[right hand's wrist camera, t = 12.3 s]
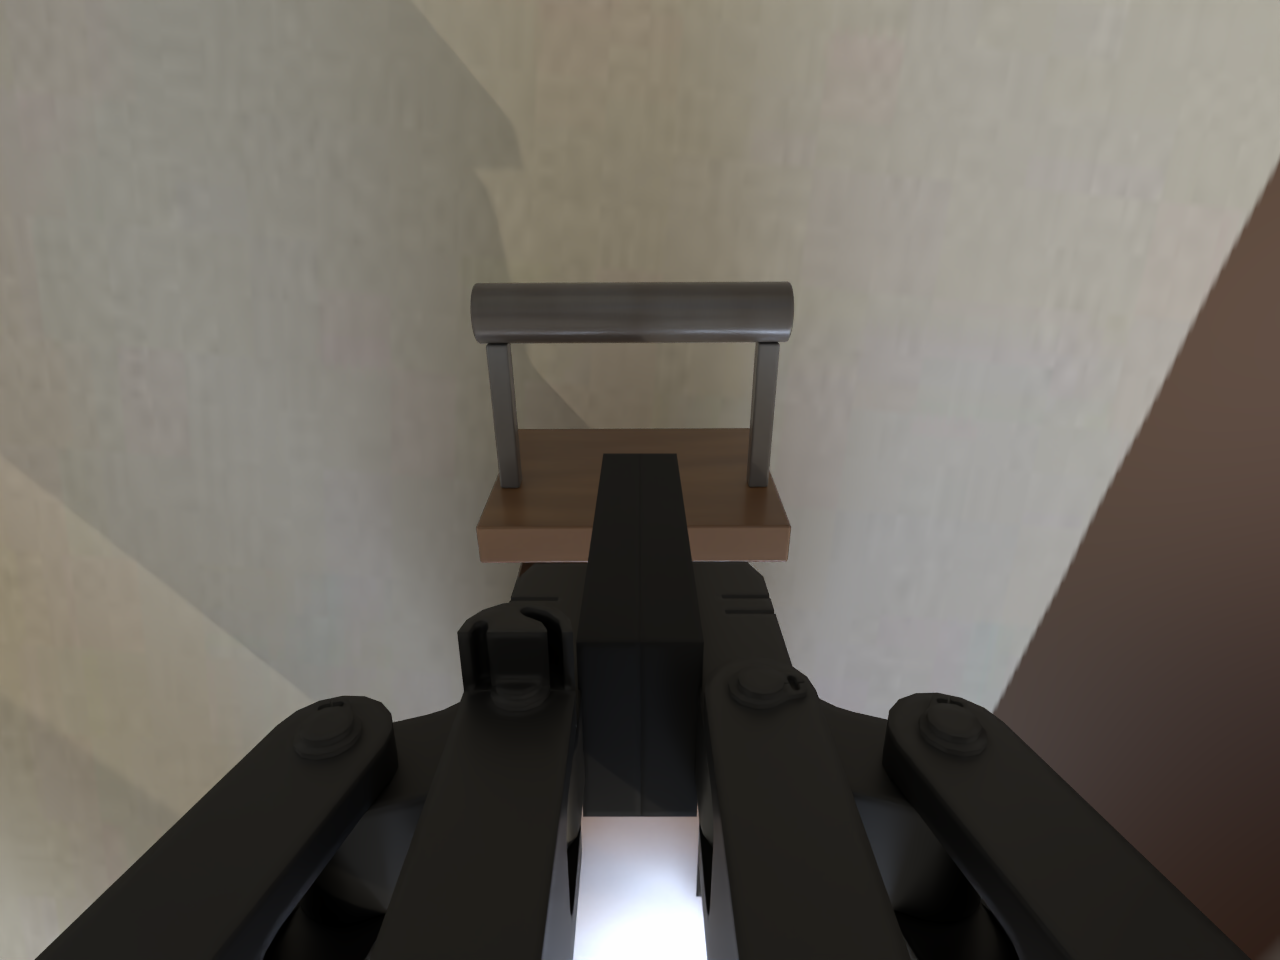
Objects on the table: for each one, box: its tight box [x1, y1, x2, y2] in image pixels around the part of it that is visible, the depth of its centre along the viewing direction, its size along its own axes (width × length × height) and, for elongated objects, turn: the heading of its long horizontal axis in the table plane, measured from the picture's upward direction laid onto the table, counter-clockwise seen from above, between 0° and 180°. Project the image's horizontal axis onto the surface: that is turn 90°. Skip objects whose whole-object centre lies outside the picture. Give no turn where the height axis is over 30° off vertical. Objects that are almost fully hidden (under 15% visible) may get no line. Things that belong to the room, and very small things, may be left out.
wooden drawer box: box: [573, 803, 707, 960], centre depth 31 cm, size 19×10×9 cm, turn 0°
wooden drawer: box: [471, 282, 794, 579], centre depth 25 cm, size 24×9×7 cm, turn 0°
